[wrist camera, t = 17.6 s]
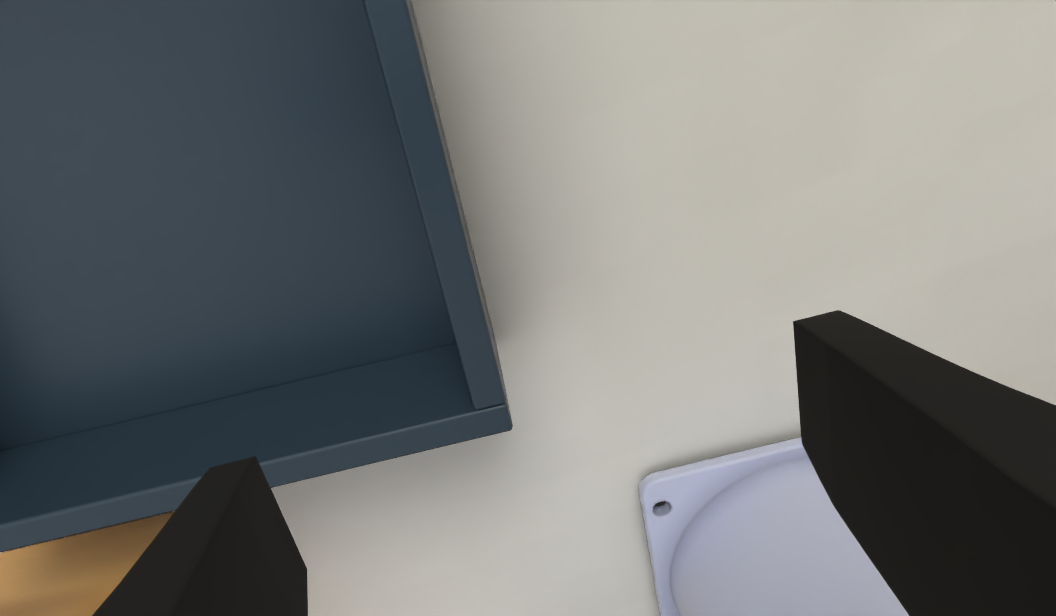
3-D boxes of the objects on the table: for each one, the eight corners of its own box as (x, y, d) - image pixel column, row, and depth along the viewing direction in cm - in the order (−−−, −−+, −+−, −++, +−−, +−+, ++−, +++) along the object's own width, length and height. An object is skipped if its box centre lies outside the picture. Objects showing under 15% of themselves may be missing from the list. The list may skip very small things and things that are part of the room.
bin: (496, 346, 22) (513, 431, 19) (-5, 465, 22) (-69, 570, 19) (319, -372, 15) (301, -421, 12) (-423, -212, 15) (-636, -222, 12)
